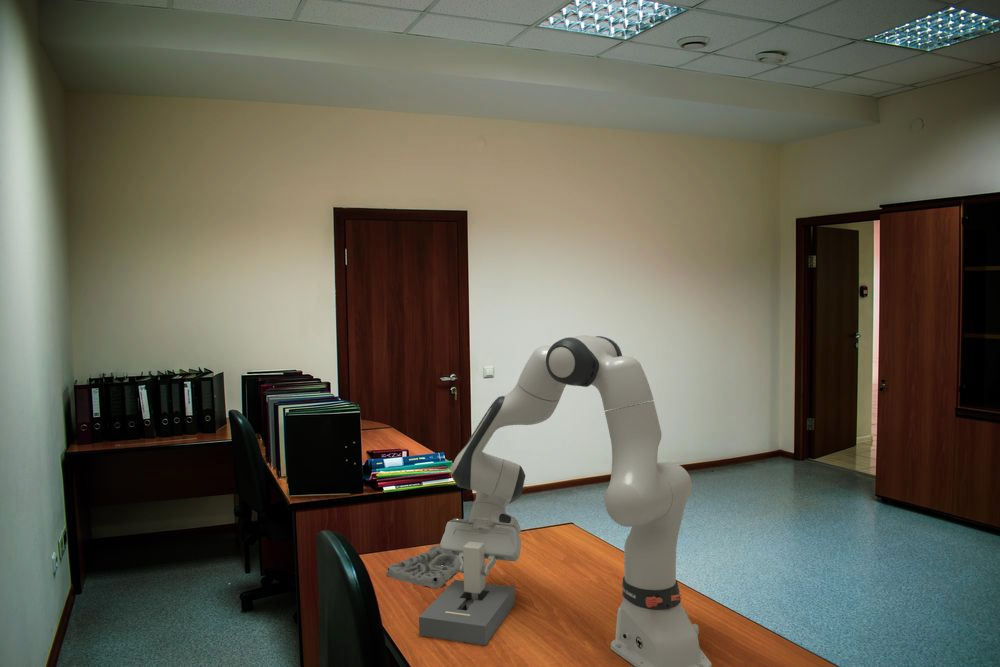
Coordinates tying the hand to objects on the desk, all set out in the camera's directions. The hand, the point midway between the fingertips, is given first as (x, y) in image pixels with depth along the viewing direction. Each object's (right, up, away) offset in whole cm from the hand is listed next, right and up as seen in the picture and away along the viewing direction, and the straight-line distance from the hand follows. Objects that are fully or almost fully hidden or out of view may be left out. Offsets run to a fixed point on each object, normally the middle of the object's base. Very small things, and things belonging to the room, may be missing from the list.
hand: (473, 573), depth 172 cm
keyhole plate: (-1, -10, -3) cm, 10 cm away
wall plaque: (-12, -9, +29) cm, 33 cm away
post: (0, -9, +1) cm, 9 cm away
